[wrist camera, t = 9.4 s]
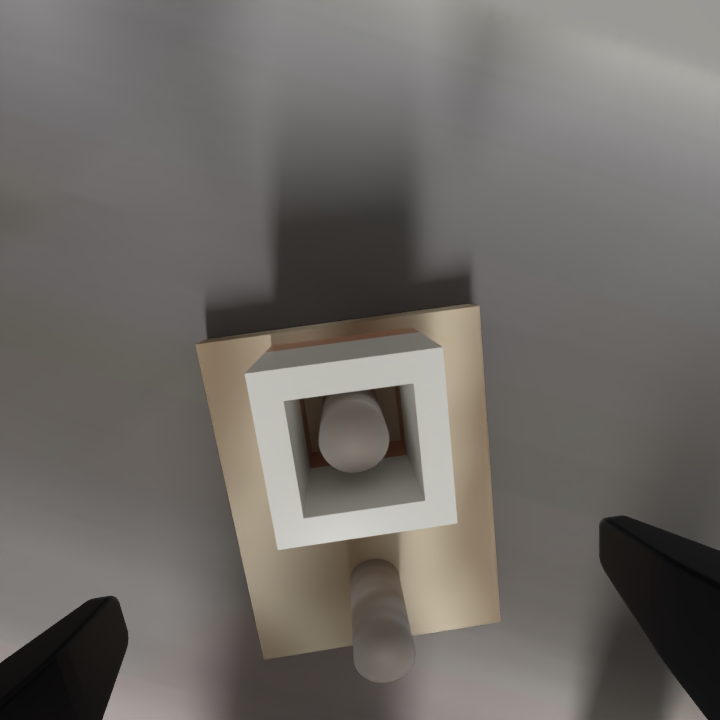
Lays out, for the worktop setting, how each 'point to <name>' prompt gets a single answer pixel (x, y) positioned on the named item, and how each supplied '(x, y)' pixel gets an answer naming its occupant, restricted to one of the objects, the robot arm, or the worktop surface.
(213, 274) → the worktop surface
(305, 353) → the sleeve
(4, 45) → the worktop surface
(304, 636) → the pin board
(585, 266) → the worktop surface
